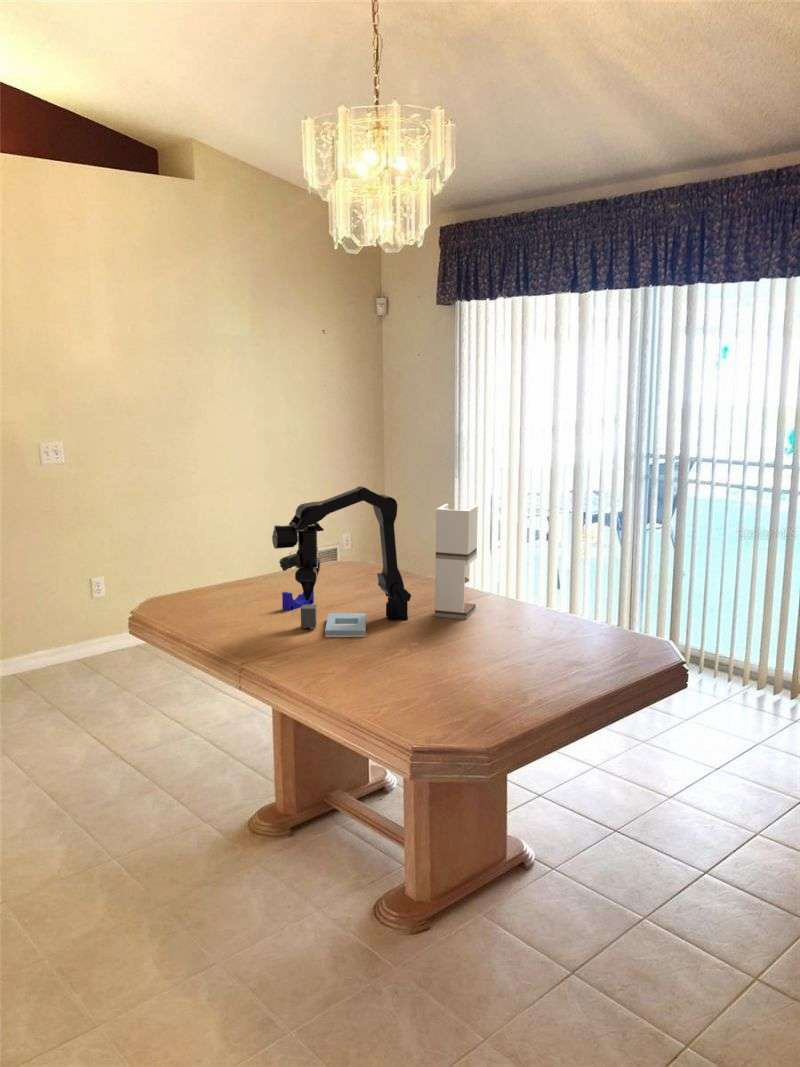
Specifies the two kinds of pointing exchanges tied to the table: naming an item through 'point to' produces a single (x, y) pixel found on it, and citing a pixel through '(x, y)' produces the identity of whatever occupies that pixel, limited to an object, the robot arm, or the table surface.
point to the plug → (308, 616)
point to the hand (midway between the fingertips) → (308, 595)
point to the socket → (346, 625)
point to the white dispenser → (454, 560)
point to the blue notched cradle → (295, 601)
